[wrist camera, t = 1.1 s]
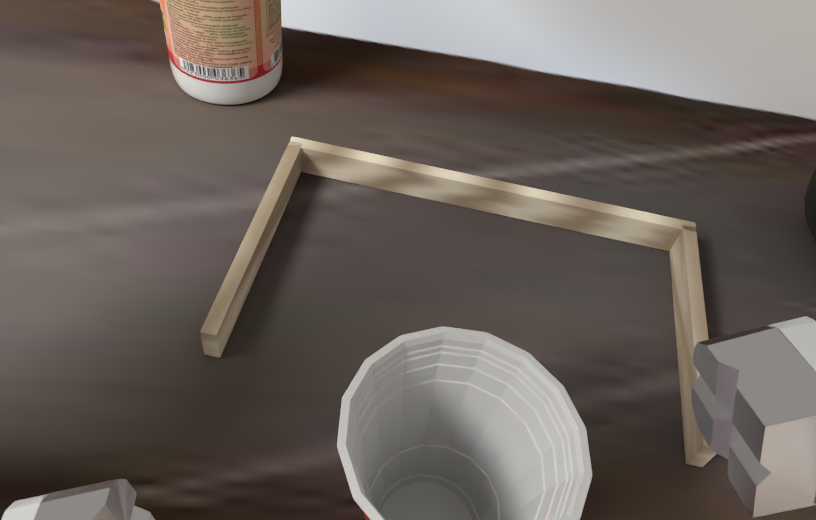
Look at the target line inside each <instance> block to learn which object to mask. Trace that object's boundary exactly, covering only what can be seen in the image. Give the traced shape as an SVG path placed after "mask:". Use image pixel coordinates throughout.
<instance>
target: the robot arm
mask: <svg viewBox="0 0 816 520" xmlns="http://www.w3.org/2000/svg"><path fill="white" fill-rule="evenodd" d="M693 364H694V366H695V367H696V369H697V370H698V372H699V373H700V376H699V377H698V378H697V380H696V381H695V382H694V383H693V385H692V406H693V410H694V415H695V419H696V422H697V424H698V427H699V429H700V431H701V434H702V436H703V437H704V439H705V441H706V443H707V444H708V446H709V448H710V449H711V451H713V452H715V453H717V454H719V455H721V456H722V457H724V458H726V459H728V471H727V477H728V479H729V481H730V482H731V484H732V485H733V487H734V489H735V490H736V492H737V493H738V495H739V497H740V498H741V500H742V502H743V503H744V505H745V506H746V508H747V510H748V511H749V513H750V514H751V516H752V518H754V517H759V516H764V515H769V514H774V513H779V512H784V511H788V510H793V509H798V508H803V507H808V506H813V505H816V321H815V320H814V319H811V318H809V317H807V316H804V317H800V318H796V319H792V320H788V321H784V322H780V323H775V324H771V325H769V326H762V327H758V328H754V329H750V330H746V331H742V332H738V333H734V334H729V335H725V336H721V337H717V338H713V339H709V340H705V341H701V342H697V344H696V346H695V348H694V352H693ZM136 494H137V493H136V491H135V490H134V489H133V487H132V486H131V485H130V484H129V482H128V481H127V480H126V479H115V480H111V481H106V482H101V483H96V484H91V485H87V486H82V487H77V488H72V489H67V490H62V491H58V492H53V493H49V494H46V495H41V496H36V497H32V498H27V499H22V500H17V501H15V502H14V503H12V504H11V505H10V506H9V507H8V508H7V509H6V510H5V512H4V514H3V517H2V519H1V520H155V519H154V517H153V516H152V514H151V513H150V512H149V511H146V510H144V509H142V508H139V507H137V506H134V503H135V499H136Z"/></svg>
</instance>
